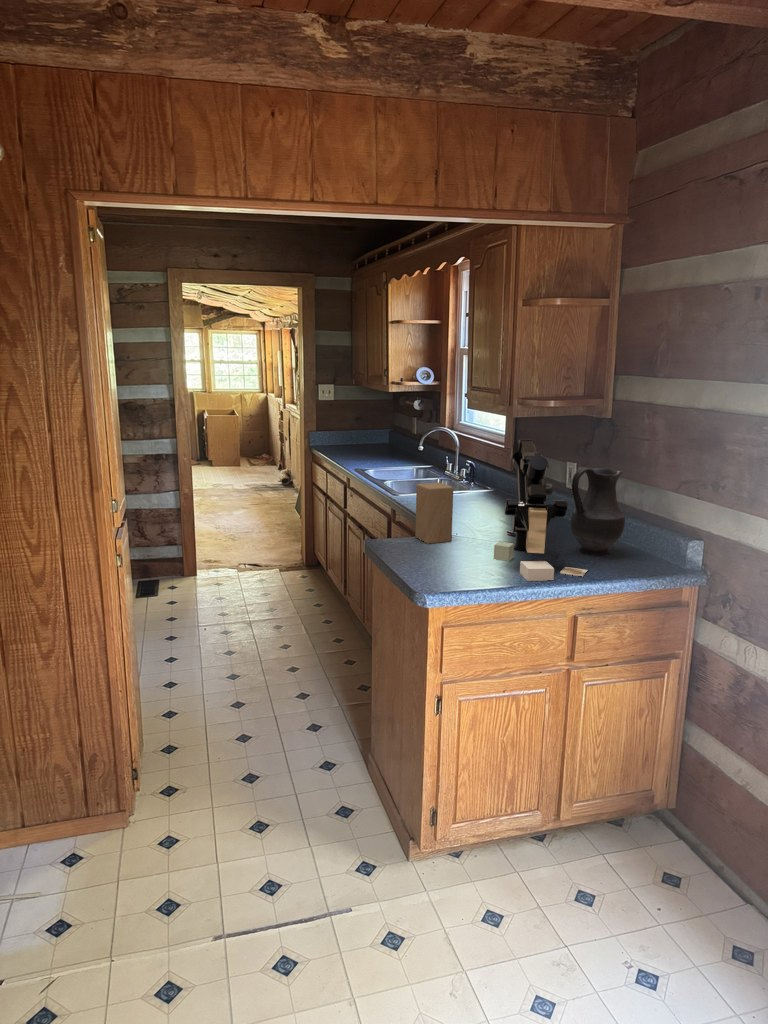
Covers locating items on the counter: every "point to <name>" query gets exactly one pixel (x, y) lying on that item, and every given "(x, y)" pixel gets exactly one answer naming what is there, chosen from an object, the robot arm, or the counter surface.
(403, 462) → the counter surface
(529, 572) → the cream base block
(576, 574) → the tile
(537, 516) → the maple block
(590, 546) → the pitcher
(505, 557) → the sage cube
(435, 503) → the wooden block
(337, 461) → the counter surface
